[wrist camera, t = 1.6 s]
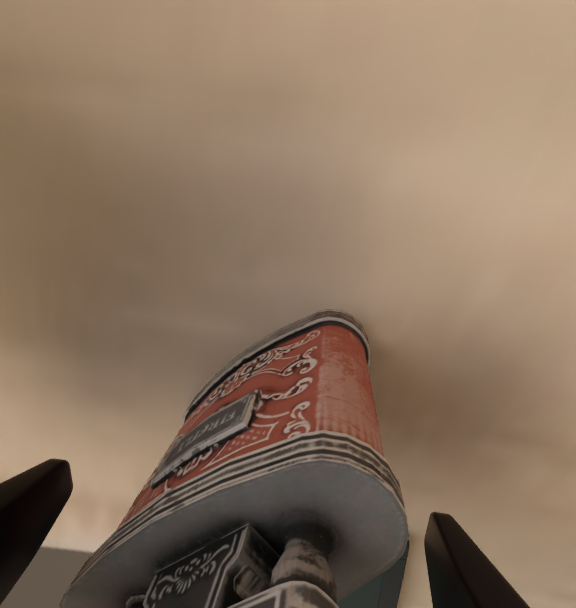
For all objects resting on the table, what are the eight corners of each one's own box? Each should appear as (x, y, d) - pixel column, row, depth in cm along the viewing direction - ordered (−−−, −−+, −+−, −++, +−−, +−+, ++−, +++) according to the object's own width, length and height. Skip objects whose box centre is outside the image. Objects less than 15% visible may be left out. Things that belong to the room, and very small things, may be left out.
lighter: (332, 288, 13) (325, 597, 3) (388, 360, 13) (528, 811, 4) (172, 401, 15) (-116, 782, 5) (226, 459, 15) (52, 894, 6)
